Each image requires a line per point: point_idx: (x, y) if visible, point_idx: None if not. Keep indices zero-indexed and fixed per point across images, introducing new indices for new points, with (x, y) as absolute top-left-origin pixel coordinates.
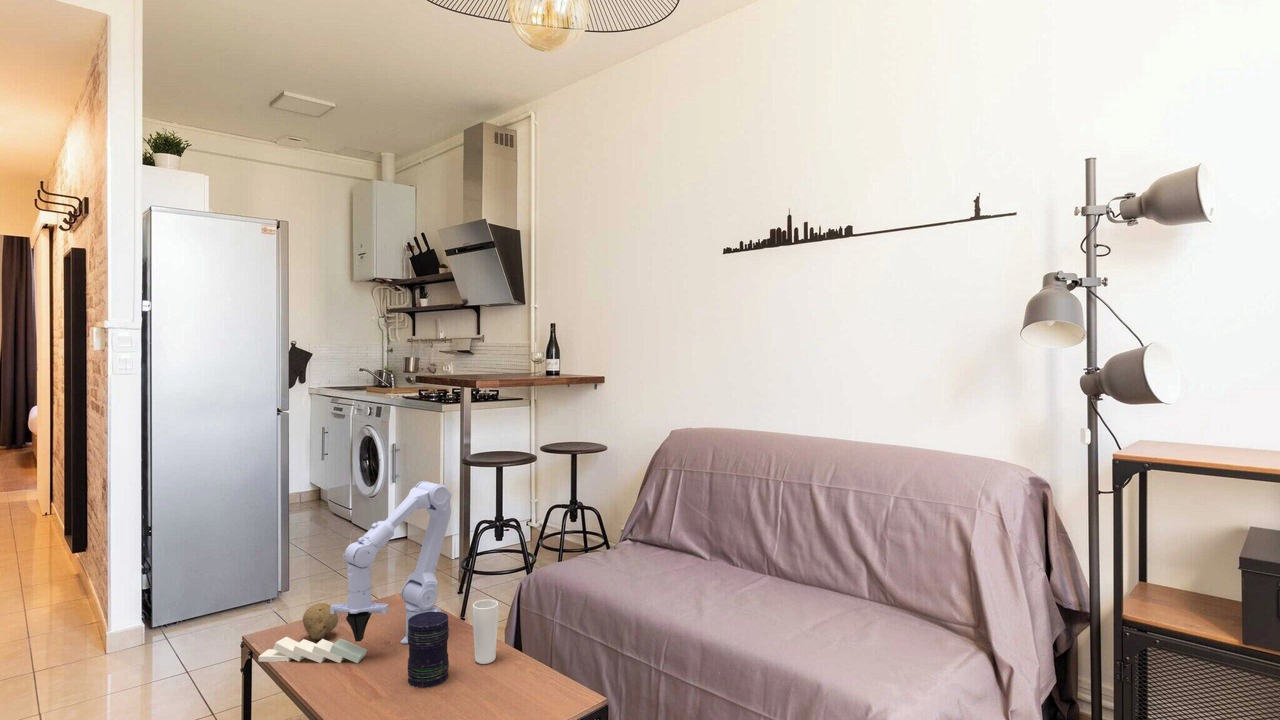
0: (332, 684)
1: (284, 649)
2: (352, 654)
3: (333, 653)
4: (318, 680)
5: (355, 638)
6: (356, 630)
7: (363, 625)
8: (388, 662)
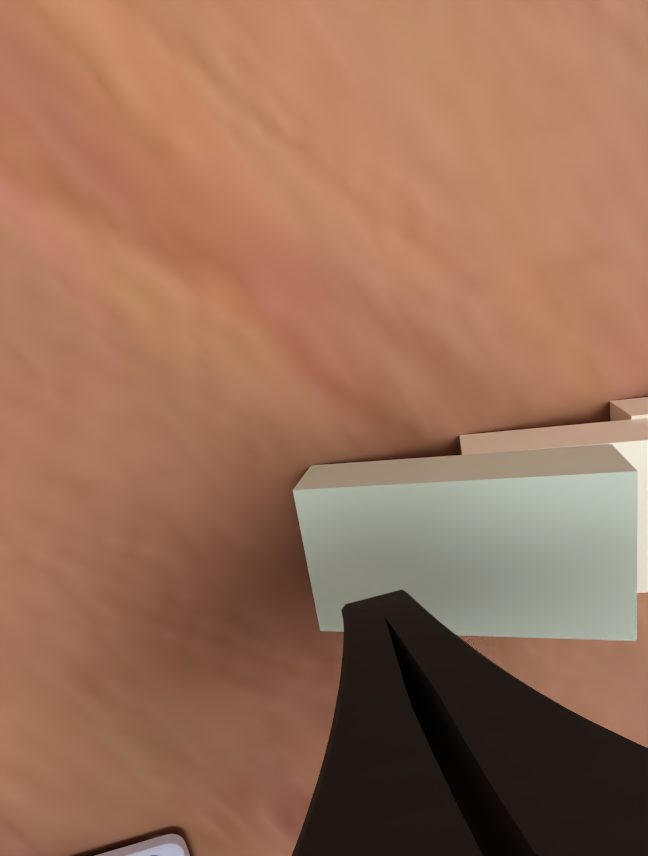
0: (277, 19)
1: None
2: (373, 484)
3: (562, 446)
4: (460, 85)
5: (410, 607)
6: (433, 696)
7: (315, 836)
8: (50, 547)
